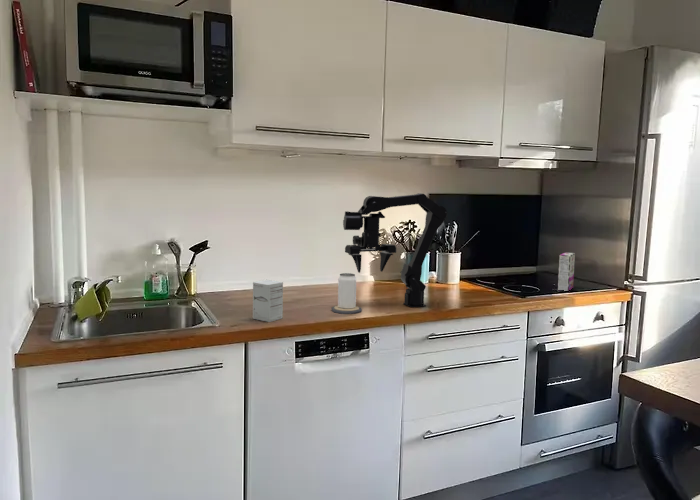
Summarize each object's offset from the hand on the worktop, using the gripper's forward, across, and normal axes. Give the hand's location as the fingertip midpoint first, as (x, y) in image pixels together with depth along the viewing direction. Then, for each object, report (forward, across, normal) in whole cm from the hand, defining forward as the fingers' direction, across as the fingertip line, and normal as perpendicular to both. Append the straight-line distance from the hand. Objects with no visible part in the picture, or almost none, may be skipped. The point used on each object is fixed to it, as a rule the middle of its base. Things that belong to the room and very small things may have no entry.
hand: (370, 271), depth 212 cm
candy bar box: (+13, -98, -3) cm, 99 cm away
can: (+12, +11, +4) cm, 17 cm away
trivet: (+13, +11, +4) cm, 17 cm away
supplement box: (+13, +41, +7) cm, 44 cm away
